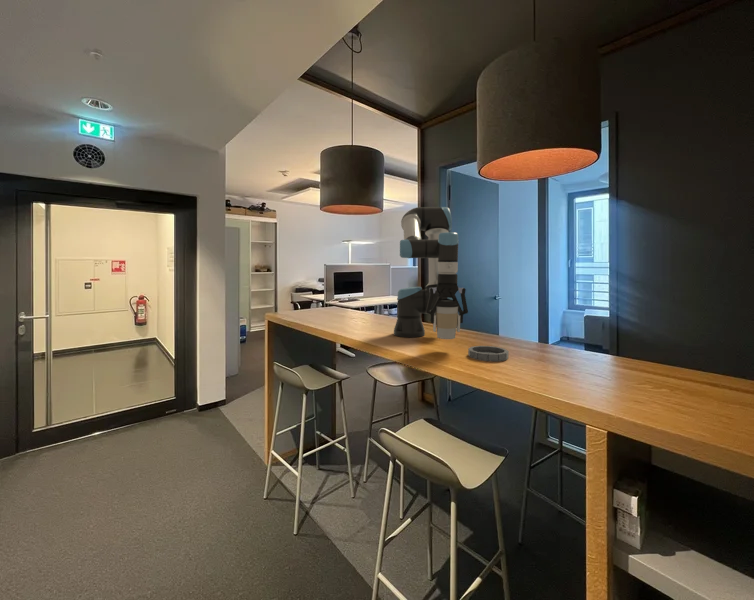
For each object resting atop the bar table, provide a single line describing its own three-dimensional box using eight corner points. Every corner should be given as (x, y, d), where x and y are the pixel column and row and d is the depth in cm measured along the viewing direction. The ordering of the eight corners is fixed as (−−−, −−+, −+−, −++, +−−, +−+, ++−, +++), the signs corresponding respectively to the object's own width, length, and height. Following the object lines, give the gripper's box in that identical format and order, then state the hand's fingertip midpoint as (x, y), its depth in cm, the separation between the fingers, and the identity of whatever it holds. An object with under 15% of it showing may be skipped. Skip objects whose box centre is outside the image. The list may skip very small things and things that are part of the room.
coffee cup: (460, 340, 132) (461, 300, 130) (436, 339, 132) (437, 300, 131) (455, 334, 141) (456, 298, 139) (433, 334, 141) (433, 298, 140)
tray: (465, 352, 135) (465, 345, 135) (501, 352, 134) (501, 346, 134) (473, 361, 121) (473, 354, 121) (513, 361, 121) (513, 354, 121)
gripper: (420, 273, 131) (419, 333, 133) (478, 273, 130) (476, 333, 132) (419, 273, 138) (418, 329, 141) (473, 272, 137) (471, 329, 140)
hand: (446, 331), depth 137 cm, fingers closed on coffee cup, 8 cm apart
